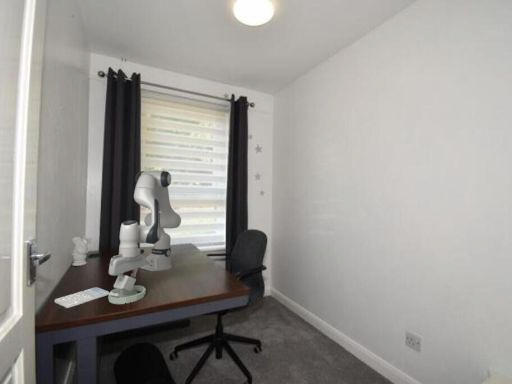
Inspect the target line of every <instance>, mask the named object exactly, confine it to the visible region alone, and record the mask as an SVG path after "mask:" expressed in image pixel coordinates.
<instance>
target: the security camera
mask: <svg viewBox="0 0 512 384" xmlns="http://www.w3.org/2000/svg"><path fill="white" fill-rule="evenodd" d="M122 276H123V278H124V279H123V281H122V282H121V281H119V279H120V278H119V277H118V276H117V278H116V280H115V282H114V284H113V288H114V289H116V290H117V293H113V292H111V291H110V292H109V293H110V294H109V295H112V296H116V297H126V296H124V295H123V291H122V290H125V291H131V290H132V288H133V286H134V285H135V283H136V281H137V279H136V278H135V277H131V276H129V275H125V274H123V275H122ZM119 290H120V293H121V294H120V293H119Z"/></svg>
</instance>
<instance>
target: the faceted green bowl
mask: <svg viewBox="0 0 512 384" xmlns="http://www.w3.org/2000/svg"><path fill="white" fill-rule="evenodd" d="M146 290H147V289H146V288H145V286H143V285H138V284H137V285H135V284H134V286H133V288H132V290H131V291H125V290H122V291H123V295H124V296H126V297H116V296H112V295H109V294H110V292H113V293H117V290H116V288H114V289H112V290H110V292H109V294H108V295H107V296H108V297H107V299H108V302H109V303H111V304H113V305H125V303H126V304H131V303H133V302H137V301H139V300H141V299H143V298H144V297H145V295H147V294H146V293H147V291H146ZM138 292H139V293H138ZM119 293H120V290H119ZM120 294H121V293H120ZM130 302H131V303H130Z"/></svg>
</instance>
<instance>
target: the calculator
mask: <svg viewBox="0 0 512 384" xmlns="http://www.w3.org/2000/svg"><path fill="white" fill-rule="evenodd" d="M109 293H110V292H109V291H108V290H105V289H102V288H100V287H91V288H89V289H85V290H81V291H78V292H75V293H72V294H68V295H64V296H61V297H58V298H55V299H54V303H55V304H57V305H59V306H62V307H64V308H66V309H68V308H72V307H75V306H79V305H81V304H85V303H87V302H90V301H93V300H97V299H100V298H103V297H105V296H108V294H109Z"/></svg>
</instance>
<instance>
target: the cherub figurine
mask: <svg viewBox="0 0 512 384" xmlns="http://www.w3.org/2000/svg"><path fill="white" fill-rule="evenodd" d="M71 242H72V244H73V245H74V249H73V251H72V253H71V256H72V257H73V263H72V264H71V265H72V266H77V267H78V266H85V265H86V264H87V263H88V262H87V261H86V258H87V254H88V253H89V247H88V245H90V244H91V242H92V238H87V235H86V234H85V235H84V236H82V238H81V237H80V236H74V237H73V238H72V239H71Z"/></svg>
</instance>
